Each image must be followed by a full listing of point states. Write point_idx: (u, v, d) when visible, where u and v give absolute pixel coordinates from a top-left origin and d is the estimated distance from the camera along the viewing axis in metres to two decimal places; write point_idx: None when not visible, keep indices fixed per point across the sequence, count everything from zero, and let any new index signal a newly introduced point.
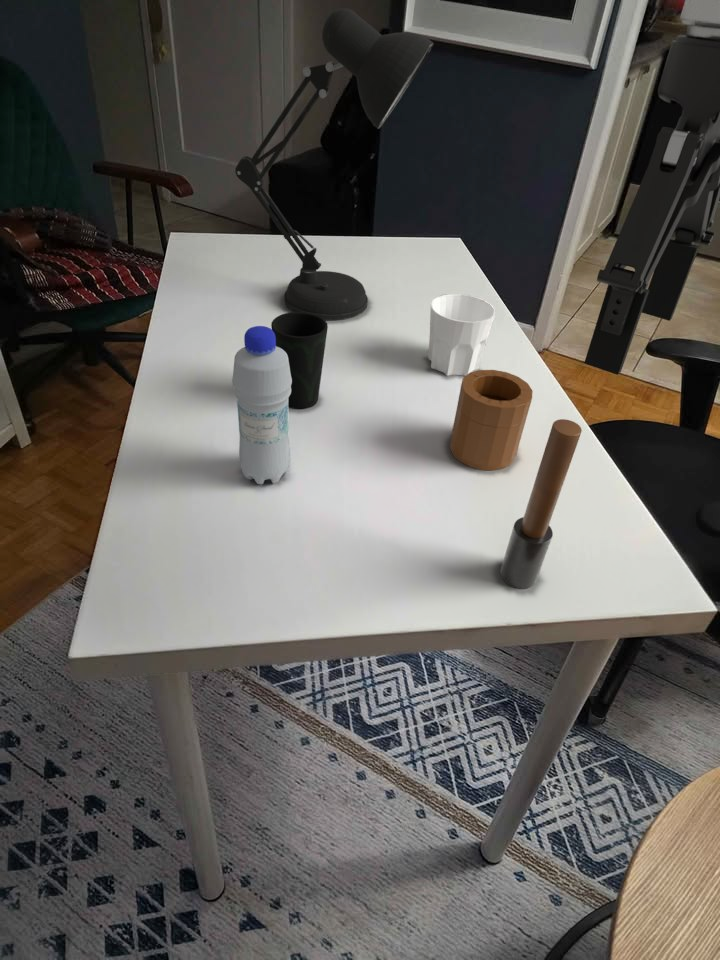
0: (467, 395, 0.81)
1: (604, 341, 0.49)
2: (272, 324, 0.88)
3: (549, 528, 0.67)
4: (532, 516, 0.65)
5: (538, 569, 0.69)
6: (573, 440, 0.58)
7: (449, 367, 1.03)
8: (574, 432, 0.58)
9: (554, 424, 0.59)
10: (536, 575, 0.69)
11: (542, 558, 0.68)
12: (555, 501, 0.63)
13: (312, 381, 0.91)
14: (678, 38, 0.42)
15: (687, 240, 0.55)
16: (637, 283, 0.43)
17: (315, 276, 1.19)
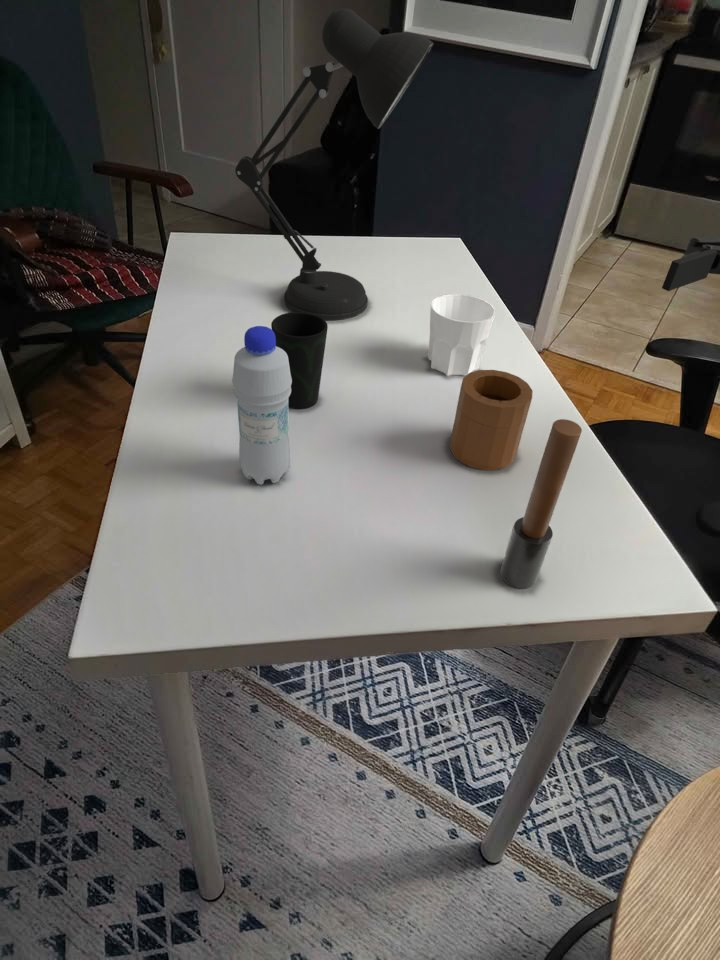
0: (467, 395, 0.81)
1: None
2: (272, 324, 0.88)
3: (549, 528, 0.67)
4: (532, 516, 0.65)
5: (538, 569, 0.69)
6: (573, 440, 0.58)
7: (449, 367, 1.03)
8: (574, 432, 0.58)
9: (554, 424, 0.59)
10: (536, 575, 0.69)
11: (542, 558, 0.68)
12: (555, 501, 0.63)
13: (312, 381, 0.91)
14: None
15: None
16: (693, 238, 0.66)
17: (315, 276, 1.19)
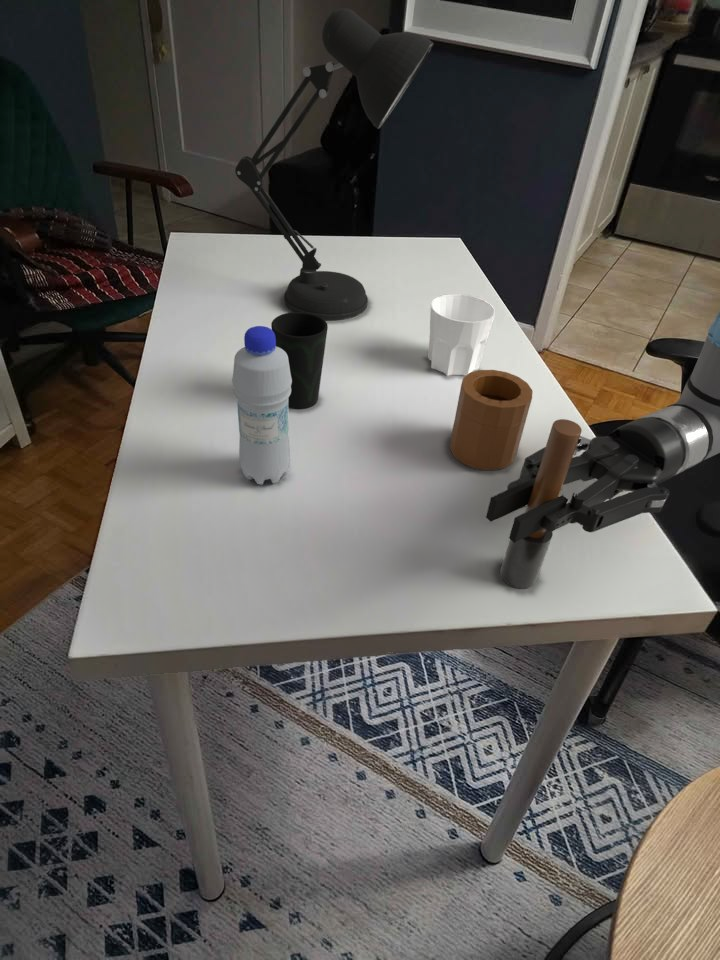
0: (467, 395, 0.81)
1: None
2: (272, 324, 0.88)
3: None
4: None
5: (538, 569, 0.69)
6: (573, 440, 0.58)
7: (449, 367, 1.03)
8: (574, 432, 0.58)
9: (554, 424, 0.59)
10: (536, 575, 0.69)
11: (542, 558, 0.68)
12: None
13: (312, 381, 0.91)
14: None
15: None
16: (526, 459, 0.68)
17: (315, 276, 1.19)
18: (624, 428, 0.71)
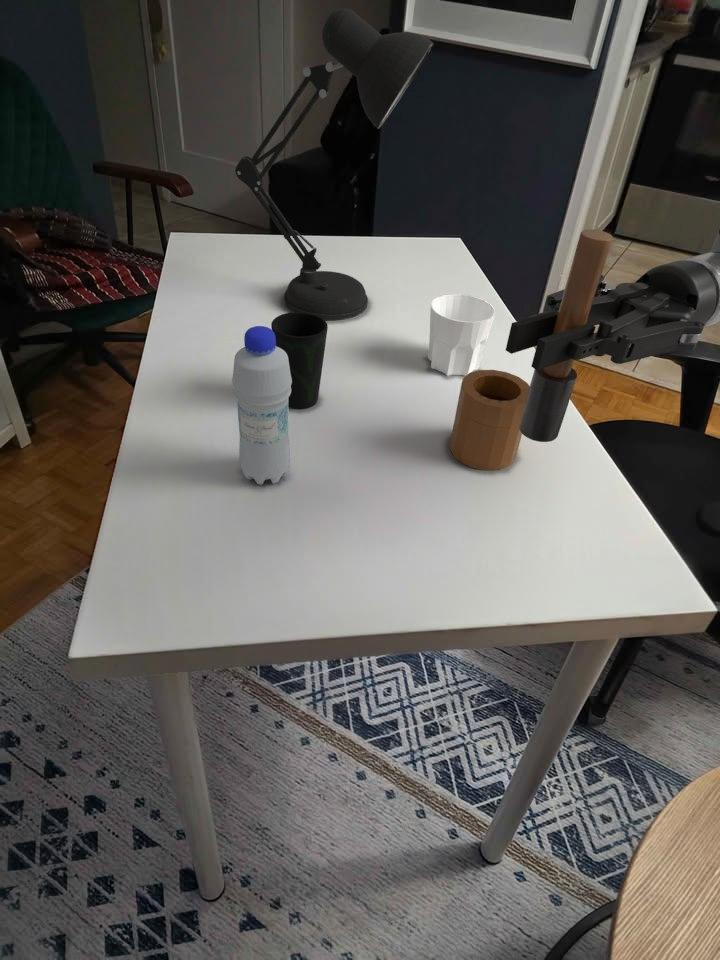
0: (467, 395, 0.81)
1: None
2: (272, 324, 0.88)
3: (573, 370, 0.62)
4: None
5: (561, 418, 0.64)
6: (604, 247, 0.53)
7: (449, 367, 1.03)
8: (605, 238, 0.53)
9: (582, 232, 0.54)
10: (558, 426, 0.64)
11: (565, 403, 0.62)
12: None
13: (312, 381, 0.91)
14: None
15: None
16: (548, 296, 0.62)
17: (315, 276, 1.19)
18: (653, 270, 0.66)
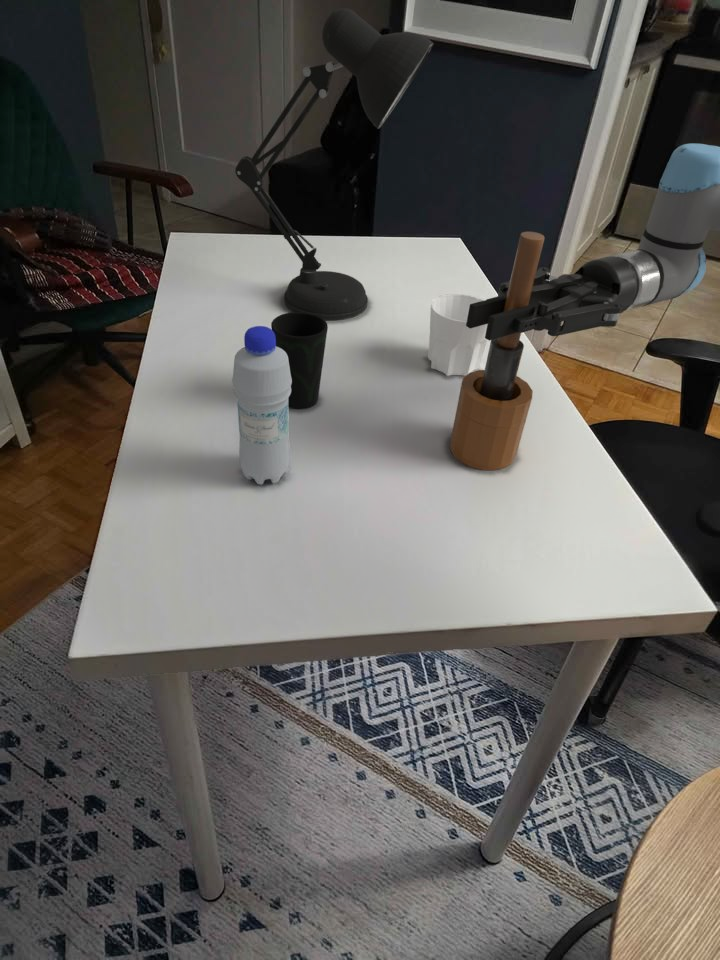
0: (467, 395, 0.81)
1: None
2: (272, 324, 0.88)
3: (521, 342, 0.79)
4: None
5: (512, 381, 0.80)
6: (537, 245, 0.70)
7: (449, 367, 1.03)
8: (538, 238, 0.70)
9: (522, 233, 0.70)
10: (510, 387, 0.81)
11: (515, 369, 0.79)
12: None
13: (312, 381, 0.91)
14: None
15: None
16: (501, 284, 0.79)
17: (315, 276, 1.19)
18: (586, 264, 0.82)
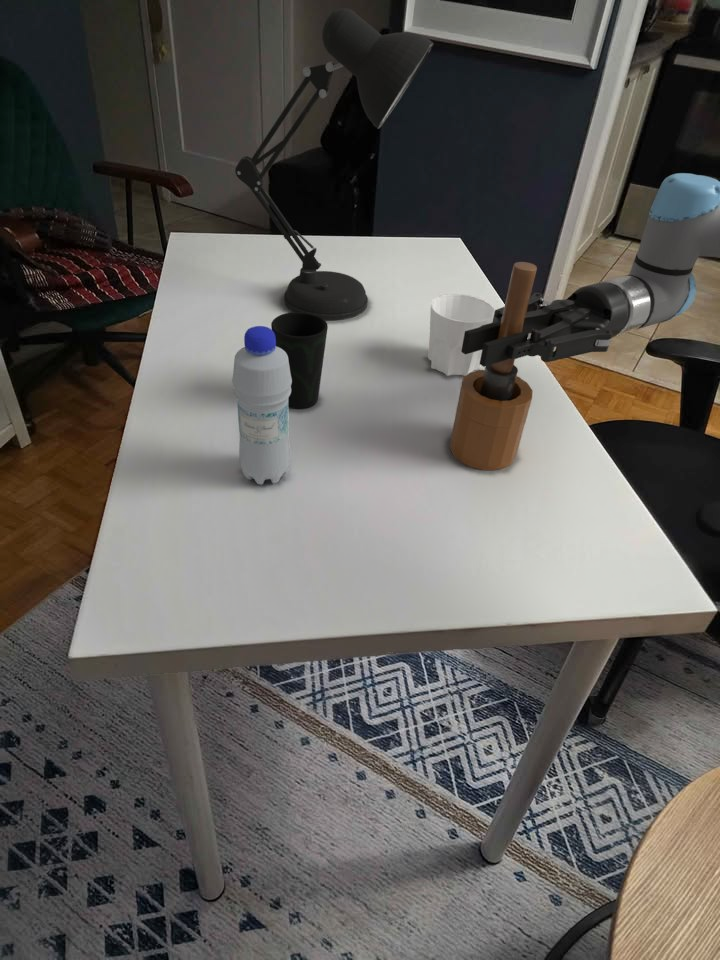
0: (467, 395, 0.81)
1: None
2: (272, 324, 0.88)
3: (515, 367, 0.81)
4: None
5: None
6: (530, 275, 0.72)
7: (449, 367, 1.03)
8: (530, 269, 0.72)
9: (515, 264, 0.73)
10: None
11: (509, 393, 0.81)
12: None
13: (312, 381, 0.91)
14: None
15: None
16: (495, 310, 0.81)
17: (315, 276, 1.19)
18: (579, 290, 0.84)
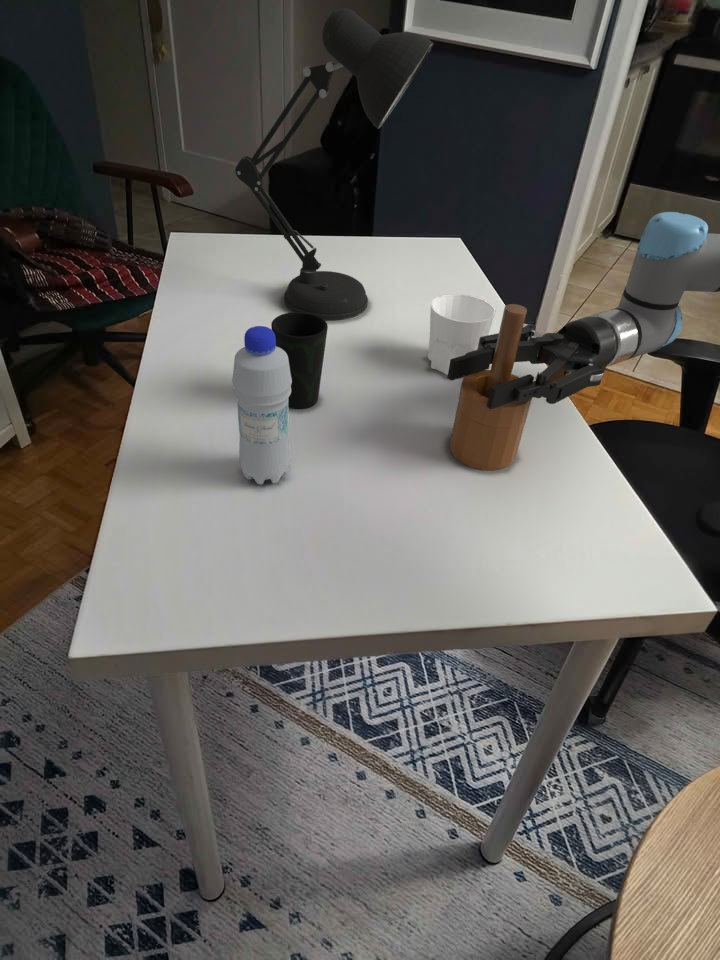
0: (467, 395, 0.81)
1: None
2: (272, 324, 0.88)
3: None
4: None
5: None
6: (520, 318, 0.75)
7: None
8: (521, 311, 0.75)
9: (506, 306, 0.76)
10: None
11: None
12: (509, 373, 0.80)
13: (312, 381, 0.91)
14: None
15: None
16: (481, 337, 0.86)
17: (315, 276, 1.19)
18: (569, 324, 0.87)
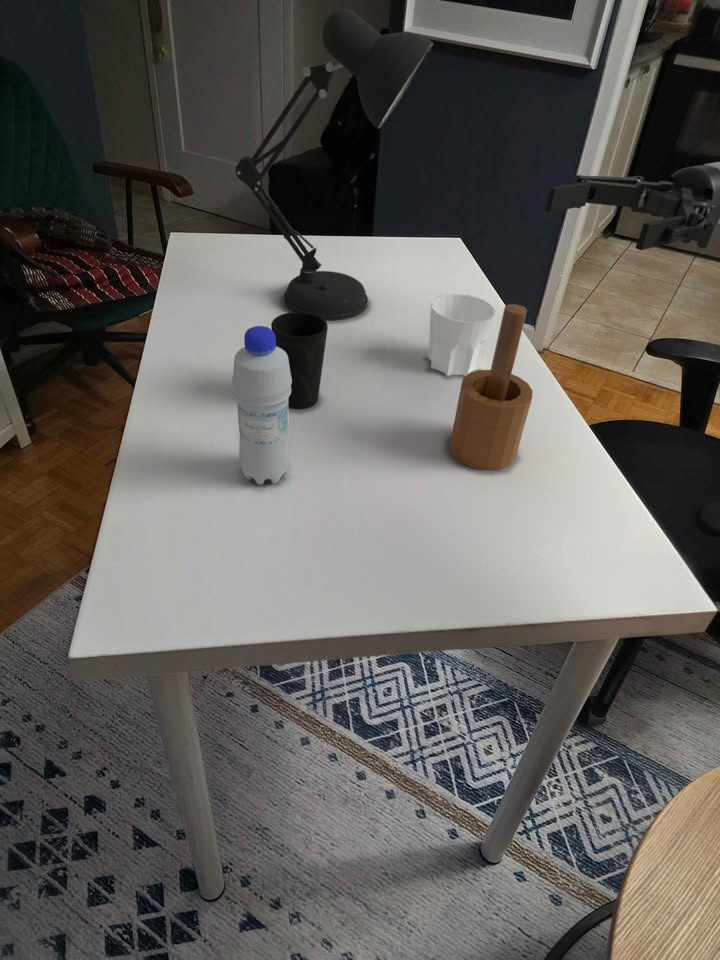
0: (467, 395, 0.81)
1: None
2: (272, 324, 0.88)
3: None
4: (491, 387, 0.81)
5: None
6: (520, 318, 0.75)
7: (449, 367, 1.03)
8: (521, 311, 0.75)
9: (506, 306, 0.76)
10: None
11: None
12: (509, 373, 0.80)
13: (312, 381, 0.91)
14: None
15: None
16: (576, 175, 0.83)
17: (315, 276, 1.19)
18: (676, 173, 0.82)
